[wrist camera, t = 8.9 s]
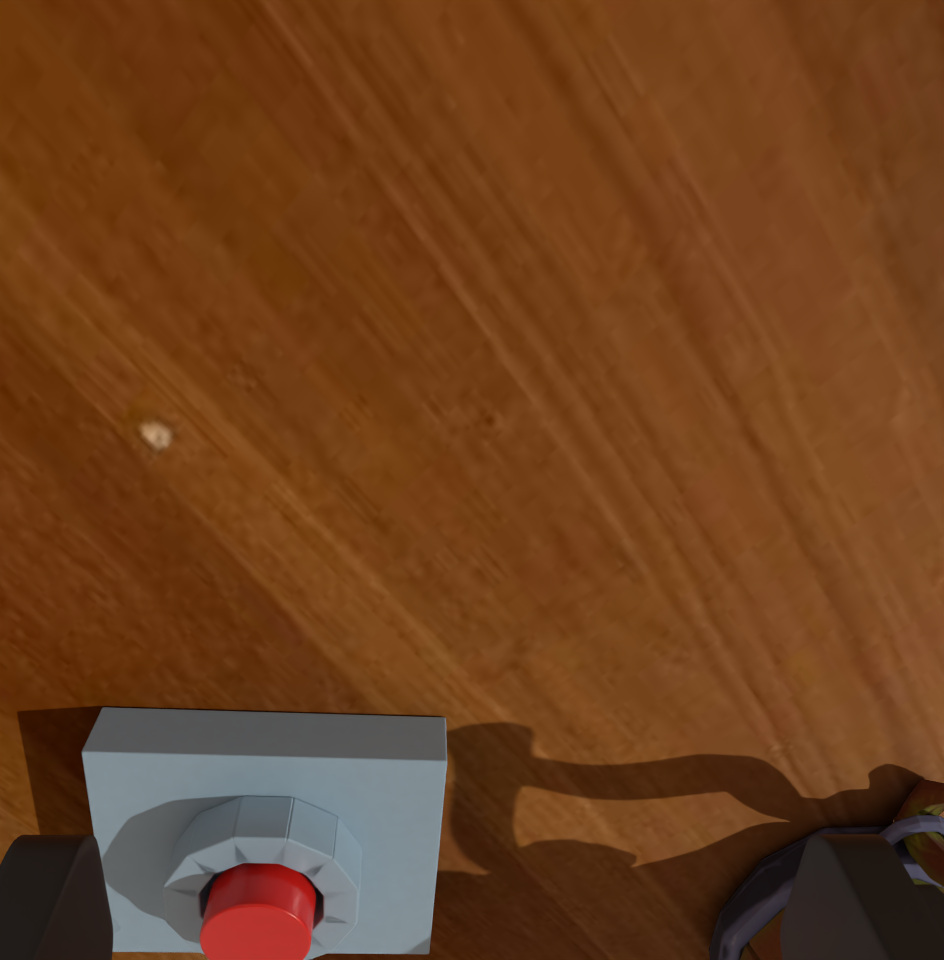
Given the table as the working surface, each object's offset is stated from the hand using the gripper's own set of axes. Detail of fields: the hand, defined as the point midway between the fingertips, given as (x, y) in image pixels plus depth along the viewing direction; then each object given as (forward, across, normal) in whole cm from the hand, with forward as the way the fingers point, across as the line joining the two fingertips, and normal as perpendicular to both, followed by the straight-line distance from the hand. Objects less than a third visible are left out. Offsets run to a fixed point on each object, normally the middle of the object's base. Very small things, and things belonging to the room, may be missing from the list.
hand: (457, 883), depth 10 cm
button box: (+18, +5, +18) cm, 26 cm away
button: (+14, +5, +18) cm, 24 cm away
